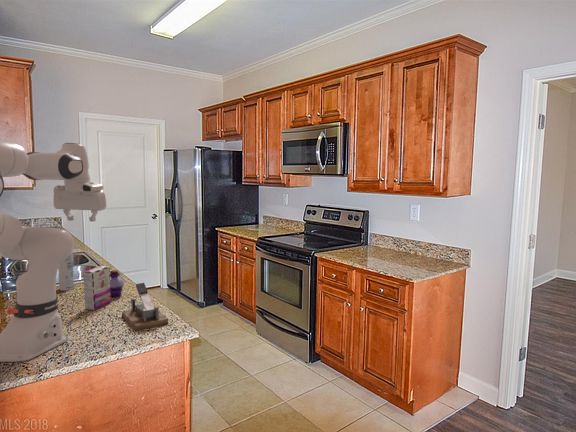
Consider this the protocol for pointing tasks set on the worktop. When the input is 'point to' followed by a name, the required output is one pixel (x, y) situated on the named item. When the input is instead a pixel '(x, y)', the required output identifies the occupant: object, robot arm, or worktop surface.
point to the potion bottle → (116, 284)
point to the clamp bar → (144, 297)
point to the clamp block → (144, 311)
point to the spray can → (66, 274)
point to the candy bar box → (97, 287)
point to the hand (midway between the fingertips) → (81, 220)
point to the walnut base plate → (139, 325)
